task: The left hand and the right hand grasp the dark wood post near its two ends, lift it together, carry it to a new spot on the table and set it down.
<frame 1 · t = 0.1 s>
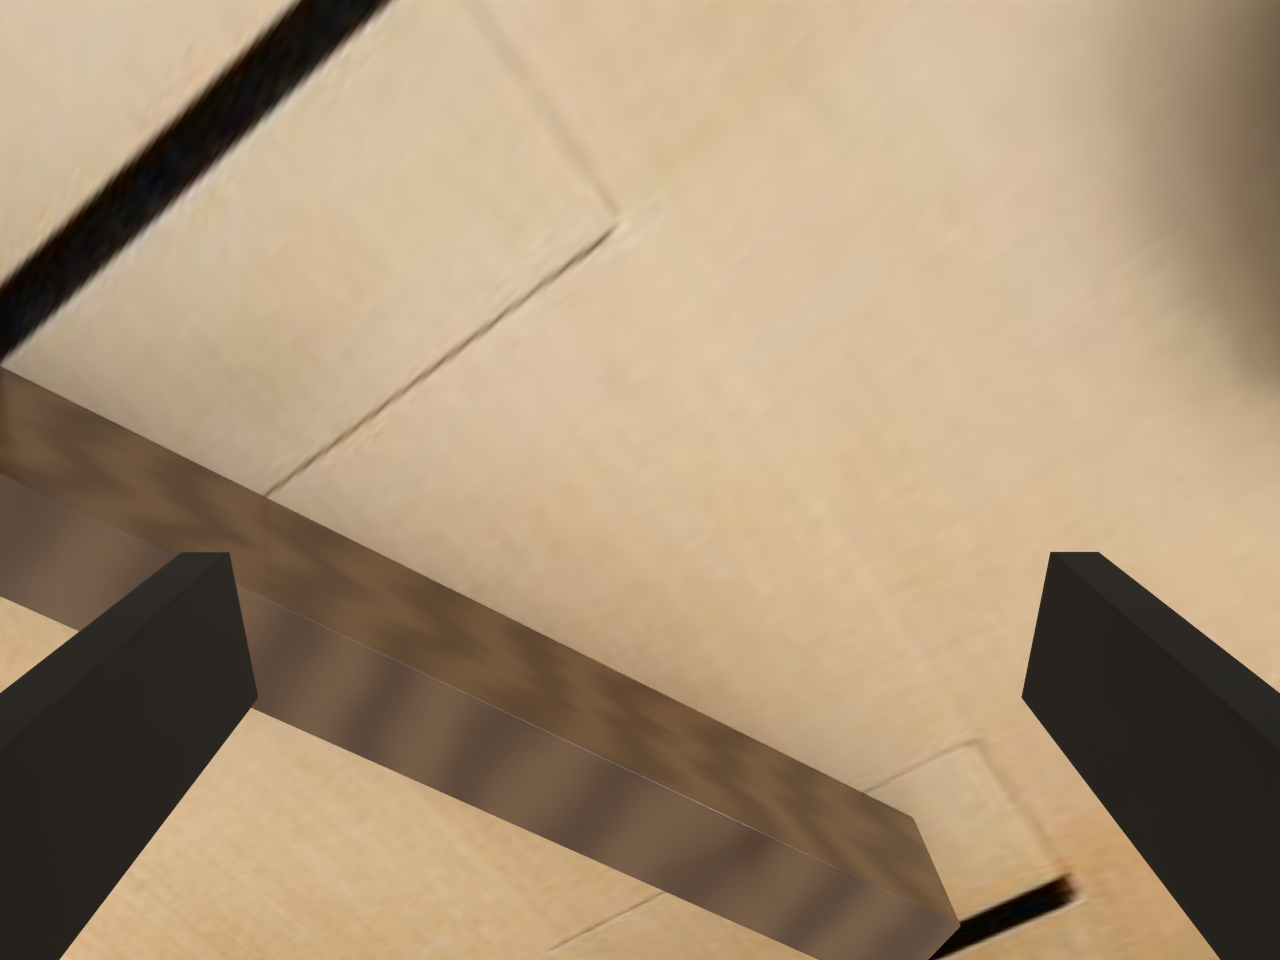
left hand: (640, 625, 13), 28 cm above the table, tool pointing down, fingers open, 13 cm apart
post: (327, 580, 44), on the table
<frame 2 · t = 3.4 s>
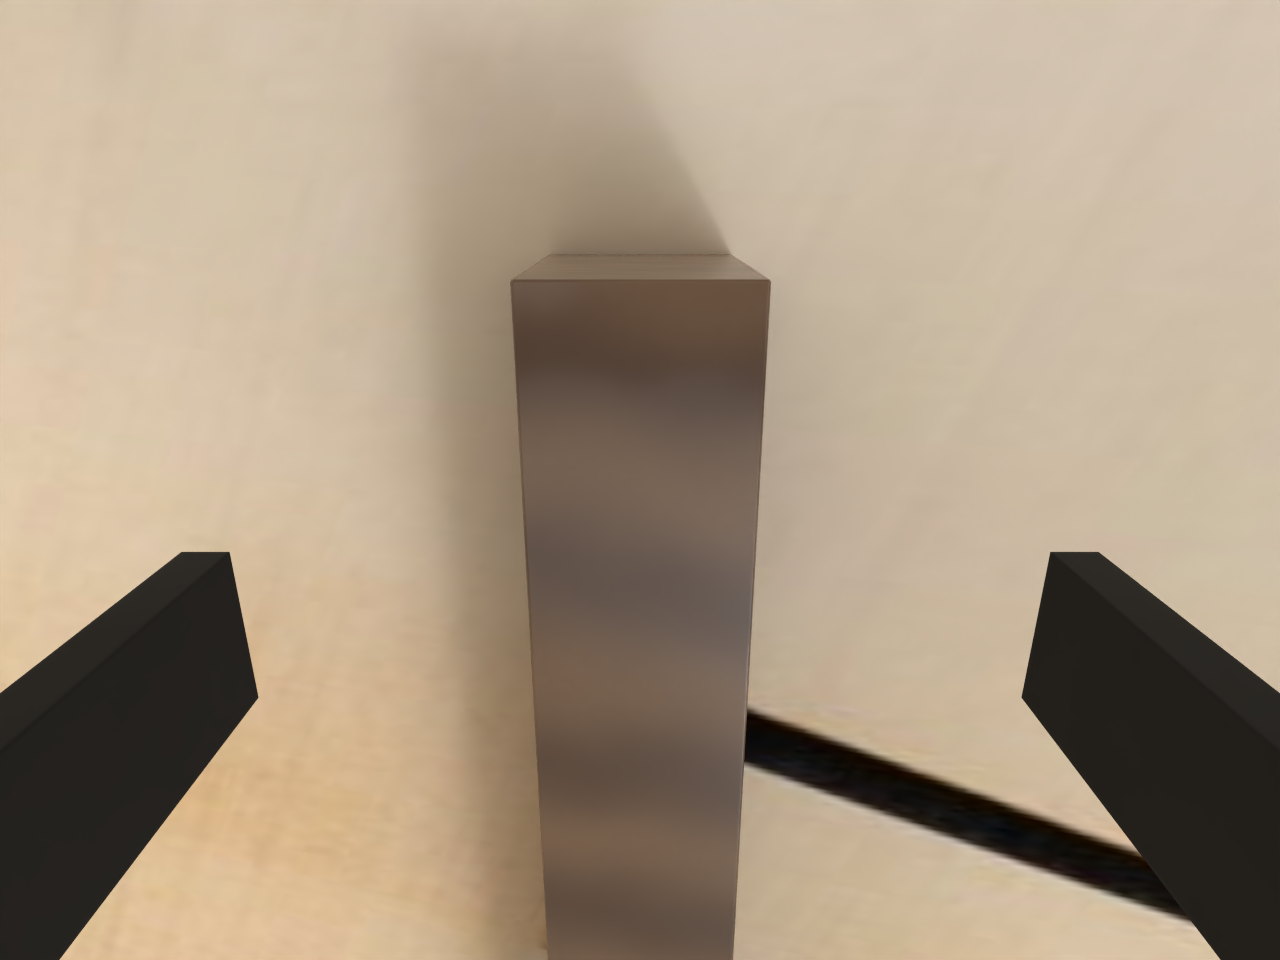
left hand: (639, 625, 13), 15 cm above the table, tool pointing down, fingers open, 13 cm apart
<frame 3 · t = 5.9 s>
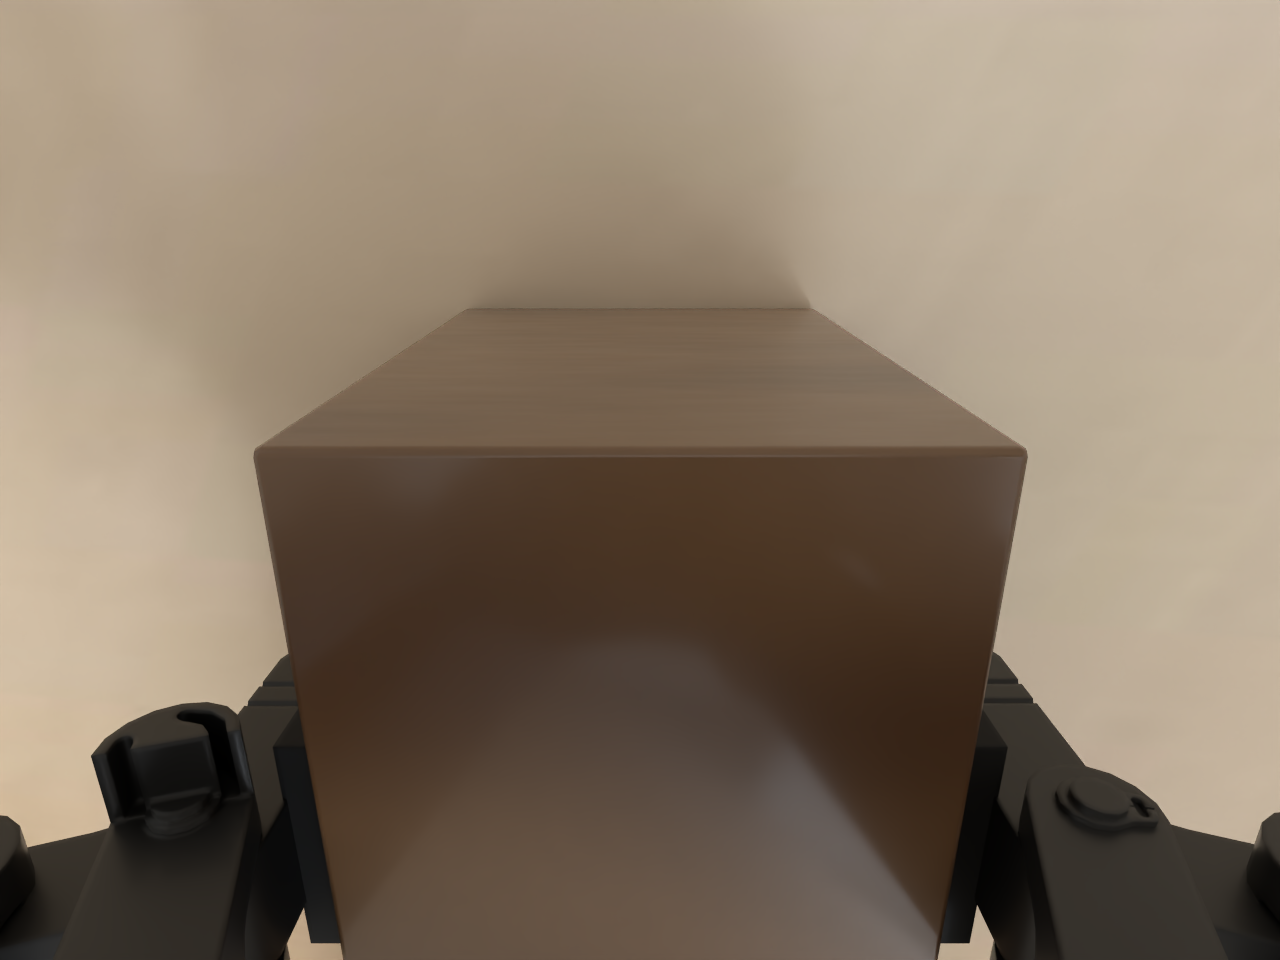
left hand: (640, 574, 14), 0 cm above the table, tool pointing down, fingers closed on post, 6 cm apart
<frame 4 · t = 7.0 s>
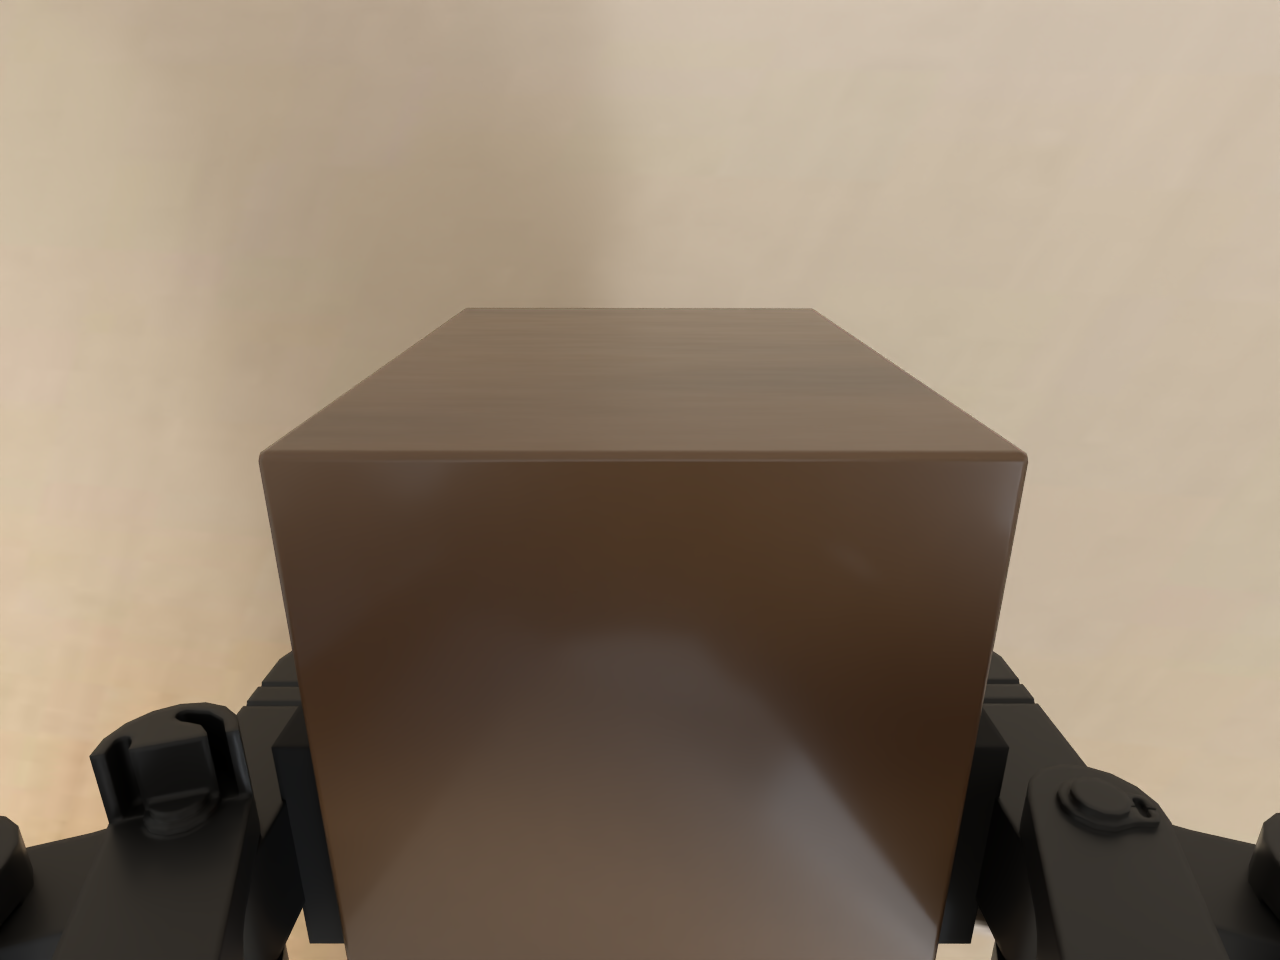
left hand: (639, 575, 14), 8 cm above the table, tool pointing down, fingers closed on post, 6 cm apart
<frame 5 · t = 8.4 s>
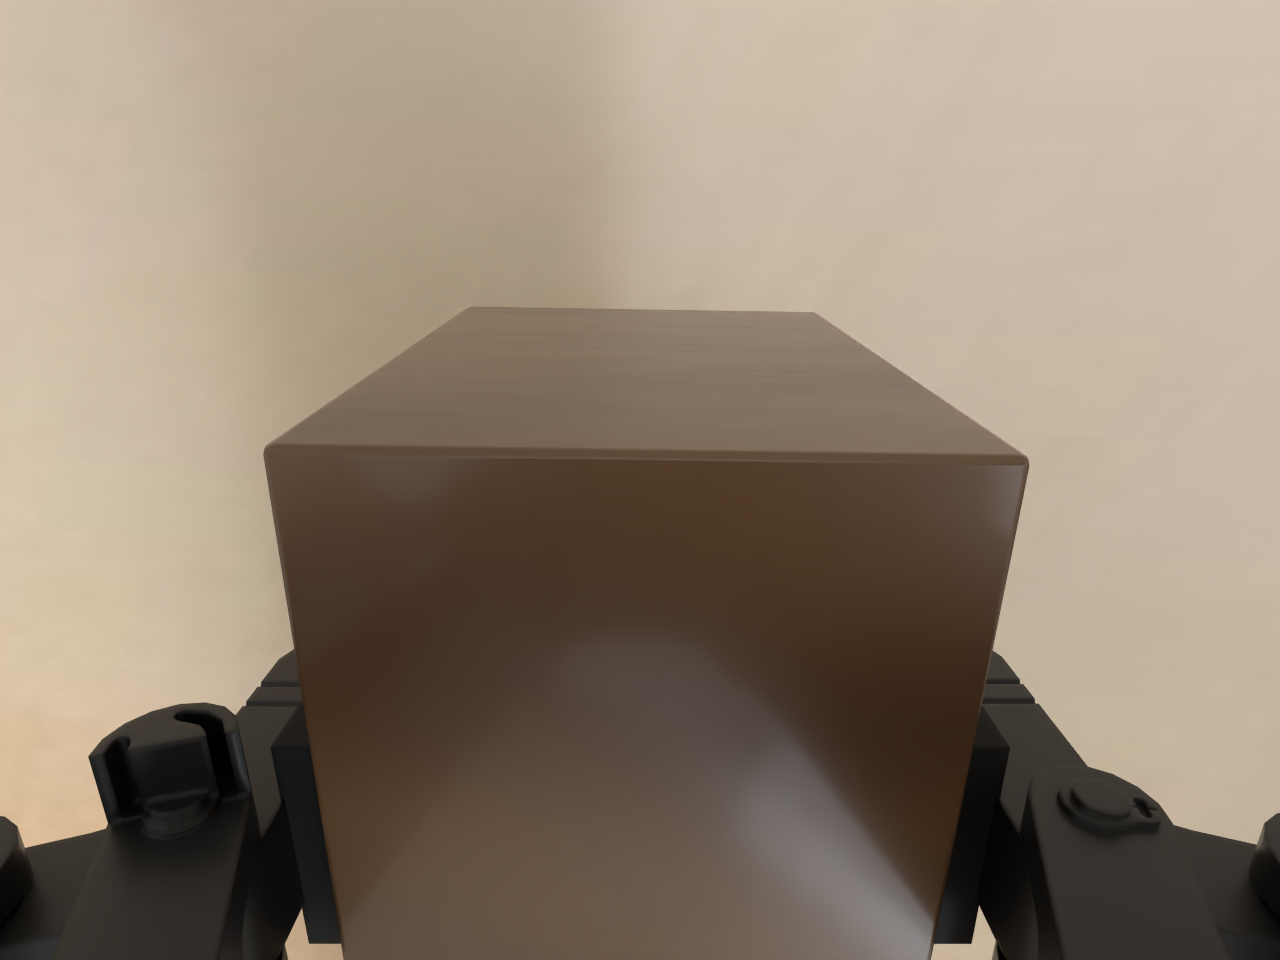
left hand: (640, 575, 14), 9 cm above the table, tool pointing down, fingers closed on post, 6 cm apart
when the left hand's fingers open (2 cm above the table, at t = 11.0 s): post drops 2 cm, on the table.
when the right hand's fingers open (2 cm above the table, at t = 11.0 s): post drops 2 cm, on the table.
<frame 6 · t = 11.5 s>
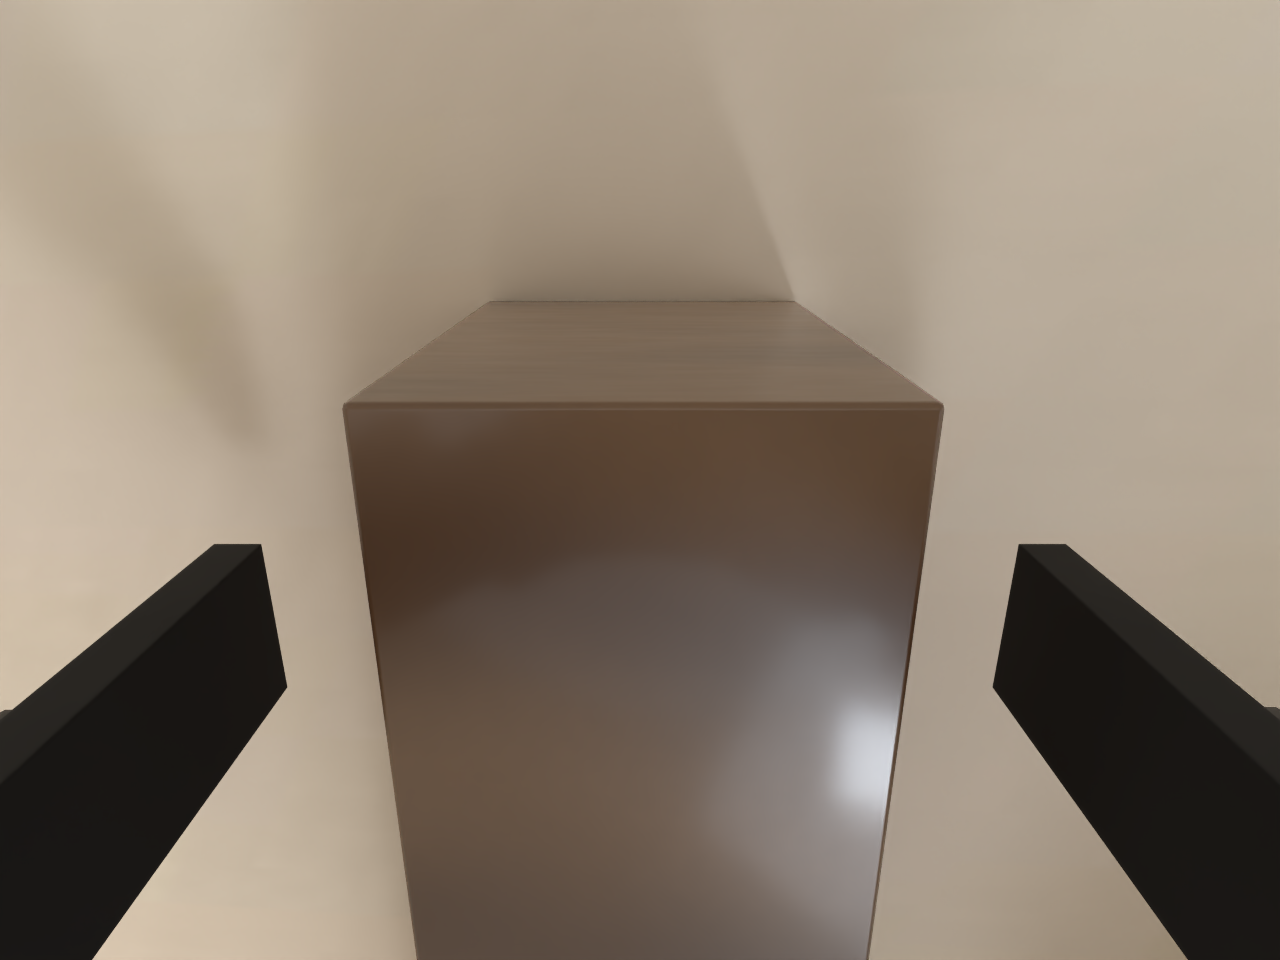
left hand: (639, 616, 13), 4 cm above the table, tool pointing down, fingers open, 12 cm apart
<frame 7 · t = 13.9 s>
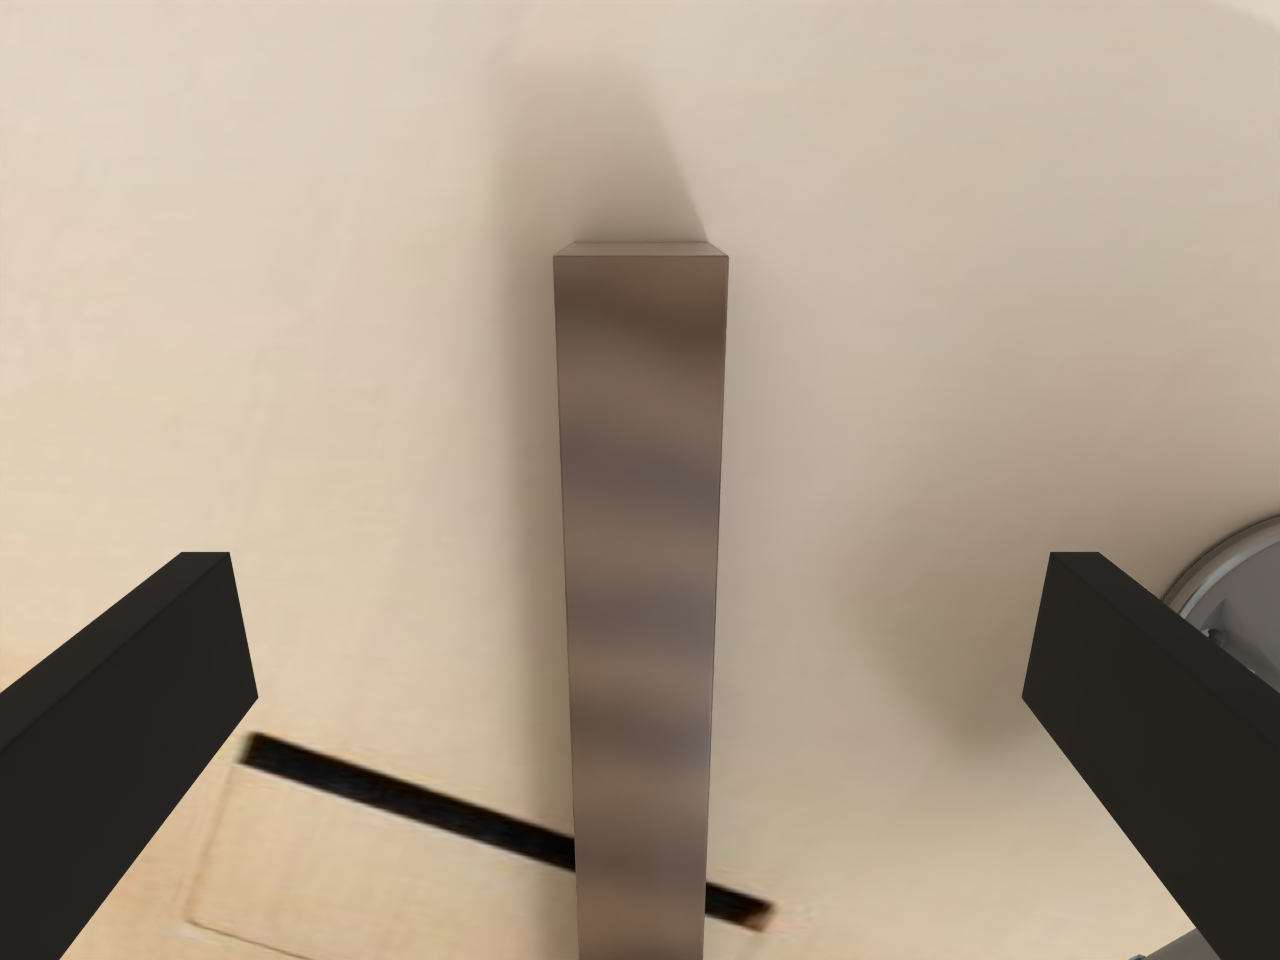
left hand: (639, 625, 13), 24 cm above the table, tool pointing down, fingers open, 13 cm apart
post: (641, 912, 47), on the table
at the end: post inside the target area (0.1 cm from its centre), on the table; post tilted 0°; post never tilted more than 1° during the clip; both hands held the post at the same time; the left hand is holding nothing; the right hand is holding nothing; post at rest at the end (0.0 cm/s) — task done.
